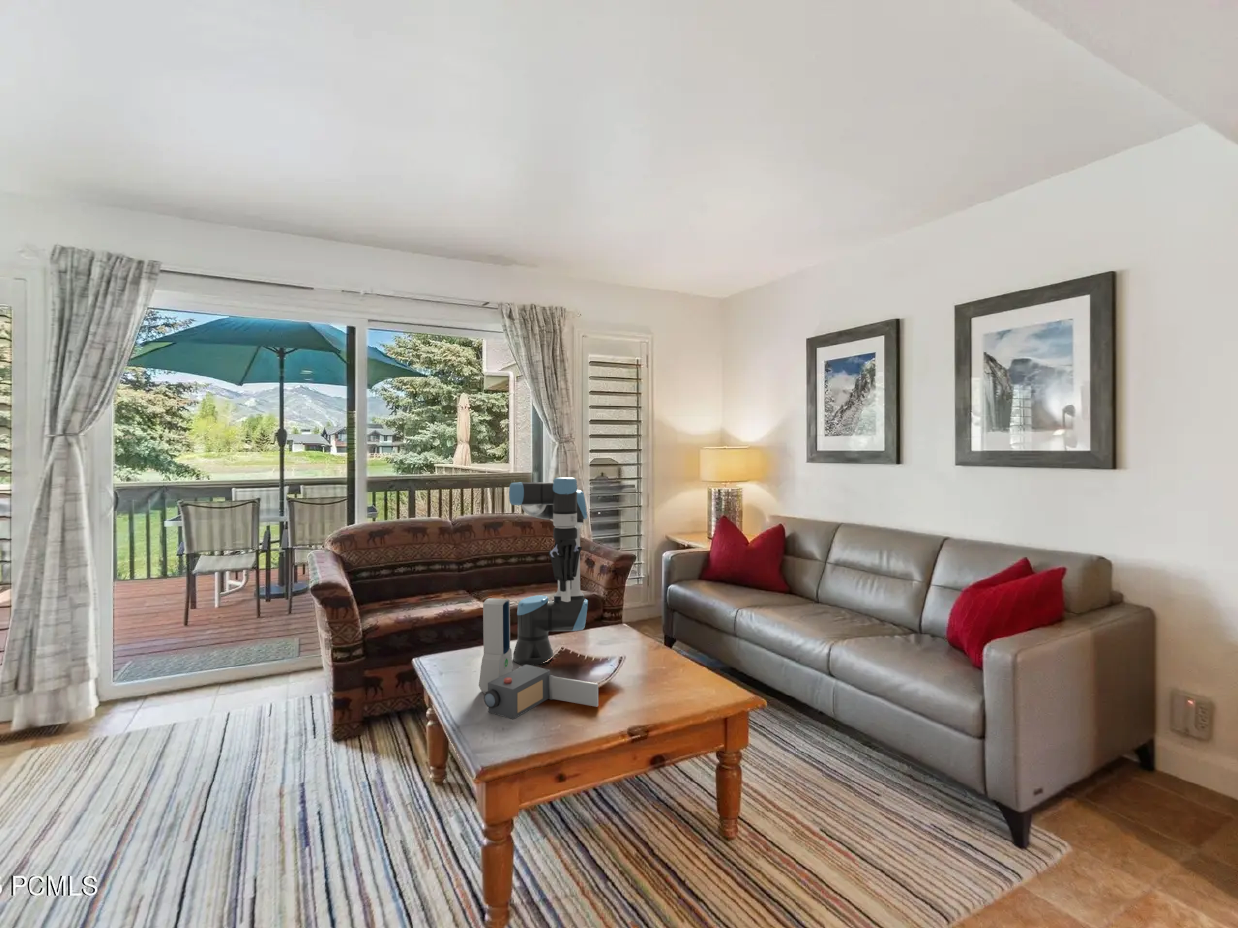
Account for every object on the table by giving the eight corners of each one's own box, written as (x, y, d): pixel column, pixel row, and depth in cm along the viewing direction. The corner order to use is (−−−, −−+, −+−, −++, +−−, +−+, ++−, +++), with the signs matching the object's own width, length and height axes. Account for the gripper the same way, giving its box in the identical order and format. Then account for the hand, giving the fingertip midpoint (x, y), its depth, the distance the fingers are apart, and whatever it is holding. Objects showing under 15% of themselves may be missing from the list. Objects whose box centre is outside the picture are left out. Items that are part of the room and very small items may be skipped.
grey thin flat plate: (548, 698, 195) (548, 676, 195) (551, 696, 197) (551, 674, 197) (596, 707, 189) (596, 684, 188) (599, 705, 190) (598, 682, 190)
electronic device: (499, 696, 198) (498, 604, 197) (478, 694, 199) (476, 603, 198) (513, 681, 210) (512, 595, 209) (493, 679, 211) (492, 594, 210)
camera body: (526, 690, 202) (525, 661, 201) (550, 697, 196) (550, 667, 196) (483, 713, 185) (483, 681, 184) (509, 721, 180) (508, 688, 179)
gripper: (559, 529, 184) (559, 607, 185) (588, 525, 194) (588, 598, 195) (541, 527, 189) (542, 603, 189) (571, 523, 199) (571, 595, 199)
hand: (565, 600), depth 192 cm, fingers closed
